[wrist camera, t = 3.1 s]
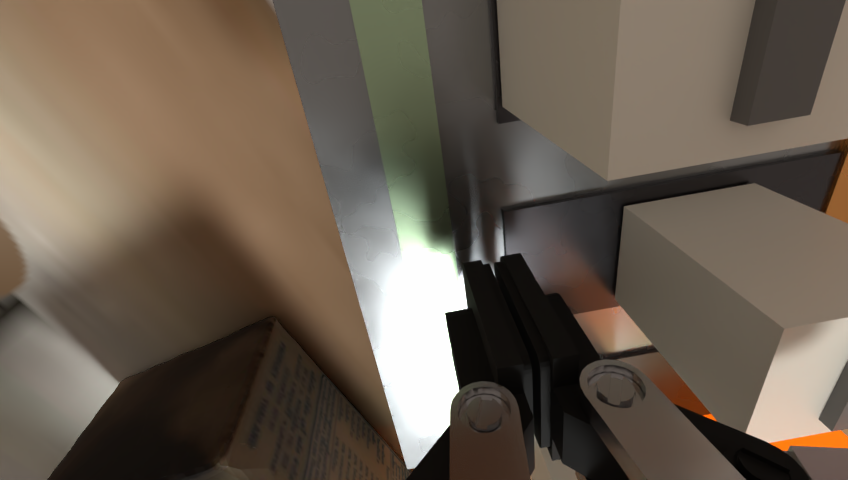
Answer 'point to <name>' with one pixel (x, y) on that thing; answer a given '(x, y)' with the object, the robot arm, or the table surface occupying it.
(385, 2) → the panel
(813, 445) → the orange juice
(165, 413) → the beverage carton
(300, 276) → the table surface
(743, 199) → the breaker mid
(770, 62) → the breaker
